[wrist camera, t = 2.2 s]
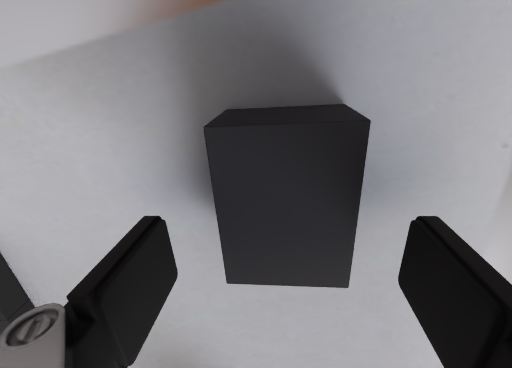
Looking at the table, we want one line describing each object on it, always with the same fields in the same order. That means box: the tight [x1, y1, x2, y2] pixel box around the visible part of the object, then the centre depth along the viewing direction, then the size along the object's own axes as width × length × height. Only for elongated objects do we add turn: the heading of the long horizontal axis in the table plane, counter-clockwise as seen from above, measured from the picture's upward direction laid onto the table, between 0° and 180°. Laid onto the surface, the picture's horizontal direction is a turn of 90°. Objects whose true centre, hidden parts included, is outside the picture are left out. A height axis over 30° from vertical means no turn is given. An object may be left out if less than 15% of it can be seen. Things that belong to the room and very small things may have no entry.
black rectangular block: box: [204, 104, 371, 288], centre depth 12 cm, size 8×6×4 cm
